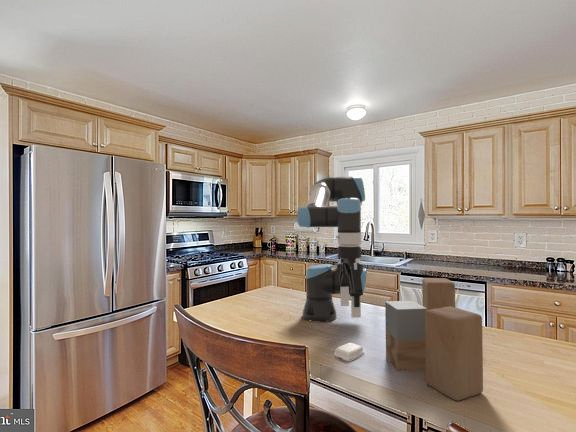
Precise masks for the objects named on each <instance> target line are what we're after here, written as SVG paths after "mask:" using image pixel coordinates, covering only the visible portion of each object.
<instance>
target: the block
mask: <svg viewBox="0 0 576 432" xmlns="http://www.w3.org/2000/svg"><path fill="white" fill-rule="evenodd" d="M483 347H484V346H483V316H482V315H481V314H478V313H476V312H473V311H469V310H465V309H461V308H459V307H456V306H455V307H452V306H449V307H442V308H436V309H430V310H426V312H425V356H426V370H425V382H426V384H427V385H428V386H430V387H432V388H433V389H435V390H437V391H439V392H440V393H442V394H444V395H445V396H447V397H449V398H450V399H452V400H455V401H458V402H459V401H461V400H464V399H468V398H470V397H474V396H477V395H480V394H482V393H483V391H484V373H483V372H484V367H483V366H484V363H483V361H484V360H483V359H484V357H483V355H484V354H483V350H484V349H483Z"/></svg>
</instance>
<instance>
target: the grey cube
mask: <svg viewBox="0 0 576 432" xmlns="http://www.w3.org/2000/svg"><path fill="white" fill-rule="evenodd" d="M384 307H385V316H384V317H385V332H386V331H387V332H389V333H390V334H391V335H392V336H393V337H394V338H395V339H396V340H397V341H398V340H423V339H425V312H426V310H427V308H425V307H423V305H421V304H419V303H418V302H416V301H415V300H397V301H395V300H393V301H391V300H389V301H387V300H386V301H385V304H384Z"/></svg>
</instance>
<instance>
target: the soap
mask: <svg viewBox="0 0 576 432" xmlns="http://www.w3.org/2000/svg"><path fill="white" fill-rule="evenodd" d="M364 354H365V351H364V348H363V346H361V345H359V344H356V343H353V342H348V343H345V344H343V345H340V346H338V347H336V348H335V352H334V353H333V356H334V357H337V358H340V359H342V360H343V361H346V362H351V361H353V360H356V359H358V358H360V357H362V356H363V355H364Z"/></svg>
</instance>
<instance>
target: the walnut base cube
mask: <svg viewBox="0 0 576 432" xmlns="http://www.w3.org/2000/svg"><path fill="white" fill-rule="evenodd" d="M385 359H386V360H387V361H388V362H389V364H390V365H391V366H392V367H393V368H394V370H396V371H397V372H400V373H401V372H417V371H421V372H422V371H426V356H425V339H423V340H398V341H397V340H396V339H395V338H394V337H393V336H392V335H391V334H390V333H389V332H387V331H386V330H385Z"/></svg>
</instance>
